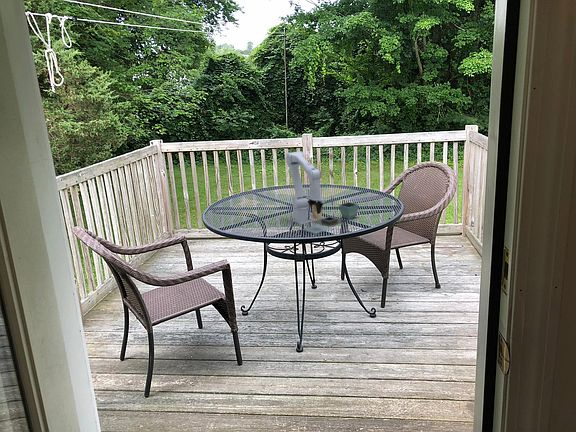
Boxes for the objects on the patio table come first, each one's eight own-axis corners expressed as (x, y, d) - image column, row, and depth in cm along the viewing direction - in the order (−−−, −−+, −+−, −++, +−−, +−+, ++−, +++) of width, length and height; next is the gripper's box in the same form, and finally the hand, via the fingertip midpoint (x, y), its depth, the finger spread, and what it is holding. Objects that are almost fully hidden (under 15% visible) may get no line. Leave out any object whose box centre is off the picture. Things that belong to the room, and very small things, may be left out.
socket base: (311, 222, 286) (311, 219, 285) (330, 217, 295) (330, 213, 295) (328, 228, 274) (328, 224, 273) (347, 221, 283) (347, 218, 282)
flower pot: (348, 221, 285) (348, 207, 282) (339, 218, 291) (338, 204, 289) (358, 218, 289) (358, 204, 287) (349, 215, 296) (349, 202, 294)
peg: (312, 218, 271) (311, 204, 269) (317, 216, 273) (317, 203, 271) (316, 219, 268) (316, 206, 266) (321, 217, 270) (321, 204, 268)
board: (302, 230, 273) (302, 229, 273) (317, 225, 280) (317, 224, 280) (315, 234, 264) (315, 233, 264) (331, 229, 271) (331, 228, 271)
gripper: (328, 190, 262) (329, 213, 266) (312, 187, 273) (313, 209, 277) (319, 193, 258) (320, 216, 262) (303, 189, 269) (304, 211, 273)
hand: (316, 212), depth 269 cm, fingers closed on peg, 4 cm apart
